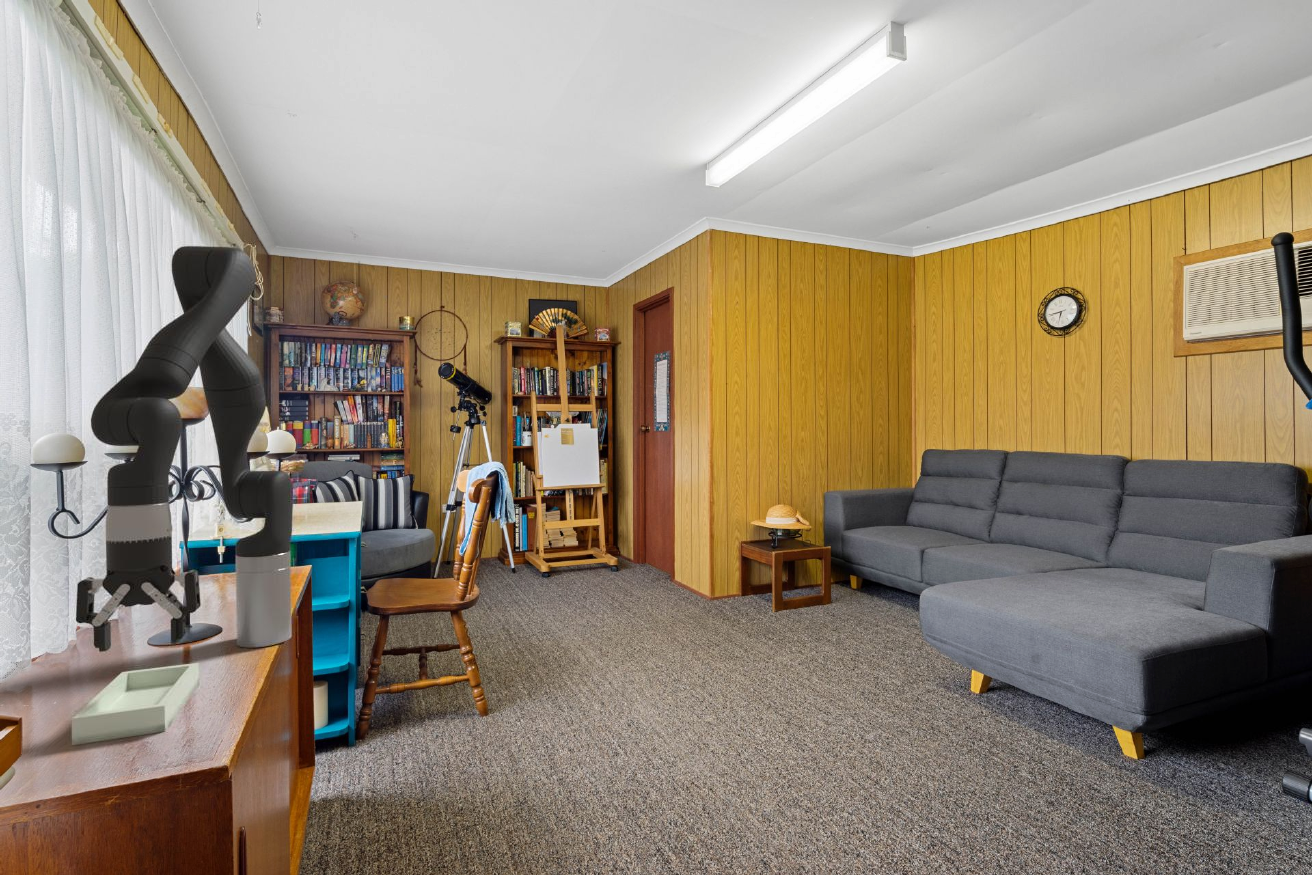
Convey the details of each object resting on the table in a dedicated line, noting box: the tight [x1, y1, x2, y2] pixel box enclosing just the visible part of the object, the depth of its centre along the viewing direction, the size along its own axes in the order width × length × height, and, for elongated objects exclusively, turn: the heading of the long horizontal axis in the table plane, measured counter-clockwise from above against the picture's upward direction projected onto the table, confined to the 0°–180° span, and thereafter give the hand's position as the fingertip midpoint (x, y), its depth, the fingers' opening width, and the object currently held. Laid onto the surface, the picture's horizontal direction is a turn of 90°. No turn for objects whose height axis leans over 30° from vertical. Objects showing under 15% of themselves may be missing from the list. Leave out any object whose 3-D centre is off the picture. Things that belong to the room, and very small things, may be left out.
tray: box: [71, 662, 200, 746], centre depth 96 cm, size 18×10×4 cm, turn 23°
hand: (141, 646), depth 95 cm, fingers open, 8 cm apart
